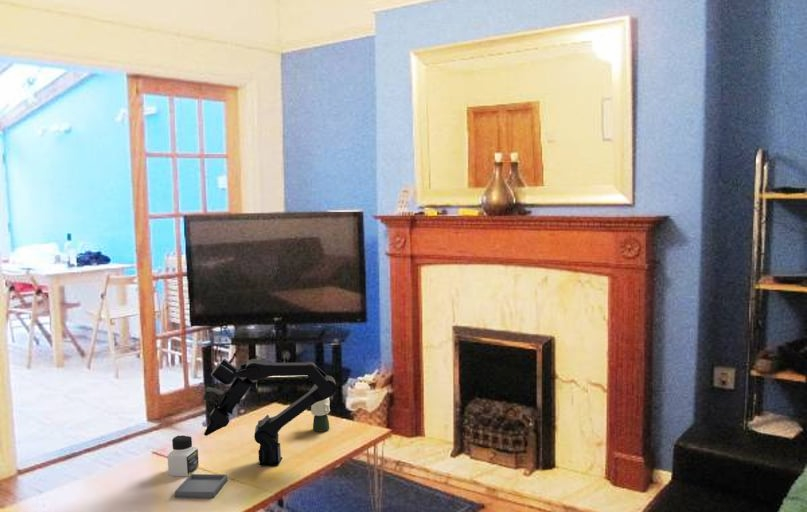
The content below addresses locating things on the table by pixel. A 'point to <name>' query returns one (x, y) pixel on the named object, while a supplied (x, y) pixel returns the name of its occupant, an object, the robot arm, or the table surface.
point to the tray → (201, 486)
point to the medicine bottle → (182, 457)
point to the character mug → (321, 415)
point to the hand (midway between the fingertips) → (206, 429)
